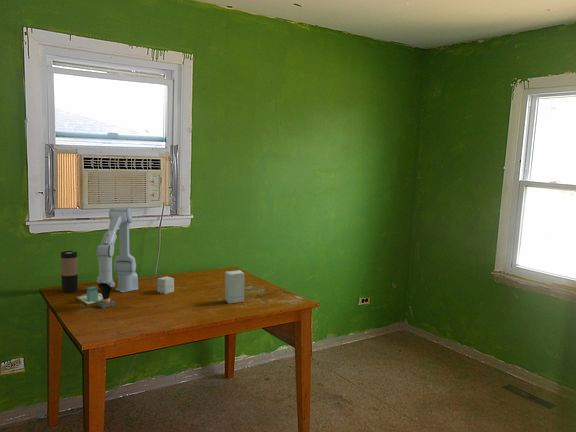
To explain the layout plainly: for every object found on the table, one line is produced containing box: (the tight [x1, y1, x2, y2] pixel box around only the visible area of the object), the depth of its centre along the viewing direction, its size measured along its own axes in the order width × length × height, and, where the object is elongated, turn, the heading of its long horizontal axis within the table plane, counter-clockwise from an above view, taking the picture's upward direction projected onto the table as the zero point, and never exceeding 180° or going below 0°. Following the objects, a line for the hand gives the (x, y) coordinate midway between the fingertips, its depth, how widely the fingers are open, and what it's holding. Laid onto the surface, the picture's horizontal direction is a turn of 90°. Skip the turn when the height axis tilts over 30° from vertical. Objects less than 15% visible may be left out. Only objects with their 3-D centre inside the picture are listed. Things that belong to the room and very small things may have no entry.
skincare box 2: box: [224, 269, 245, 304], centre depth 238 cm, size 8×6×15 cm
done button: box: [102, 297, 111, 303], centre depth 226 cm, size 4×4×3 cm
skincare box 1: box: [157, 276, 175, 295], centre depth 251 cm, size 6×6×7 cm
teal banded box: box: [86, 285, 99, 301], centre depth 232 cm, size 4×4×6 cm
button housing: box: [96, 298, 116, 309], centre depth 226 cm, size 6×6×2 cm
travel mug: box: [60, 250, 79, 294], centre depth 247 cm, size 8×8×20 cm
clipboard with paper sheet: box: [74, 292, 114, 306], centre depth 235 cm, size 12×15×1 cm
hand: (105, 298), depth 226 cm, fingers closed, pressing on done button
